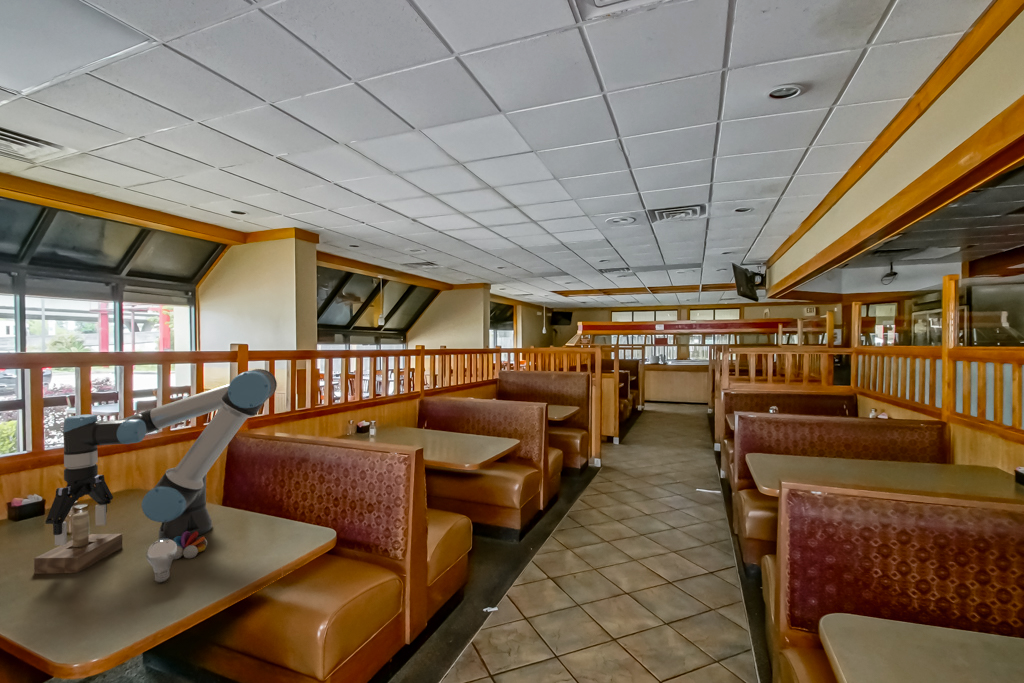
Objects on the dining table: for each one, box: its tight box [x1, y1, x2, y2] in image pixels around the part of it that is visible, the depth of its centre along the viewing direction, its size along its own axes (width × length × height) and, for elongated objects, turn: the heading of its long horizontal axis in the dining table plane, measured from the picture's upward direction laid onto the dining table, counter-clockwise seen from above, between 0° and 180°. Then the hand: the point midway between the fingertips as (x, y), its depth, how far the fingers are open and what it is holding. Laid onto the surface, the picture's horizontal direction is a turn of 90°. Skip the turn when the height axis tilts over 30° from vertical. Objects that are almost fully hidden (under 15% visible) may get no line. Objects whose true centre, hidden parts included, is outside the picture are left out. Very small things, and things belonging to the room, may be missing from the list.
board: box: [33, 533, 123, 575], centre depth 139 cm, size 12×16×4 cm
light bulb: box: [145, 538, 178, 584], centre depth 126 cm, size 7×7×12 cm
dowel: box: [71, 511, 90, 549], centre depth 139 cm, size 4×4×14 cm
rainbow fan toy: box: [173, 531, 208, 560], centre depth 143 cm, size 8×10×7 cm
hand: (81, 534), depth 139 cm, fingers open, 13 cm apart
